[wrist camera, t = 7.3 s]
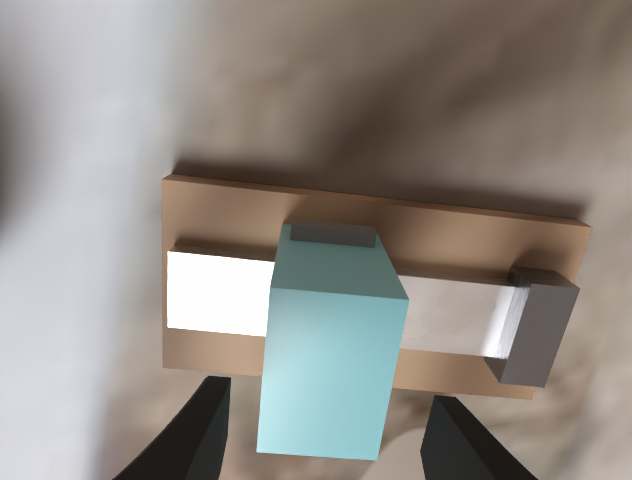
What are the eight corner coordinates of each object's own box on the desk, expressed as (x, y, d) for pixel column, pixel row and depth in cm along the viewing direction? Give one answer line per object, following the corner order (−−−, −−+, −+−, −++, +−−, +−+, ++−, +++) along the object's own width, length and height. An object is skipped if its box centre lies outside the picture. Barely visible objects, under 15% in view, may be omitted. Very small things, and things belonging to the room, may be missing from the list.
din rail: (565, 271, 18) (592, 289, 17) (534, 363, 20) (555, 388, 18) (174, 230, 17) (159, 245, 16) (173, 330, 19) (160, 353, 17)
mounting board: (575, 219, 19) (592, 227, 18) (520, 383, 22) (531, 399, 21) (171, 173, 18) (161, 179, 17) (170, 352, 21) (162, 367, 20)
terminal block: (379, 219, 17) (413, 280, 12) (357, 353, 20) (376, 460, 14) (283, 210, 17) (270, 267, 11) (272, 346, 19) (256, 452, 14)
